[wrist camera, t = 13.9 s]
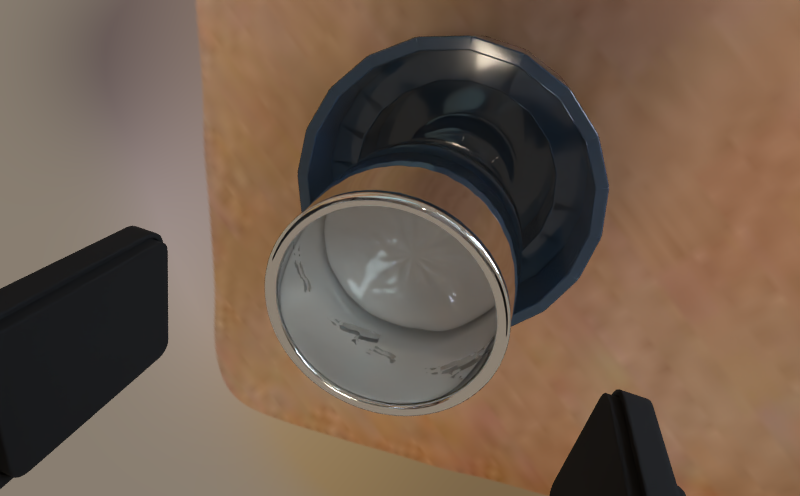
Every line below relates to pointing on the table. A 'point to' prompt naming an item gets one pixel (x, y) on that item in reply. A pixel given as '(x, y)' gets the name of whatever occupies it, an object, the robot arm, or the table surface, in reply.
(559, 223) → the dark blue bowl
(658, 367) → the table surface
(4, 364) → the robot arm
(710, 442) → the table surface
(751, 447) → the table surface
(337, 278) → the silver metal tumbler
